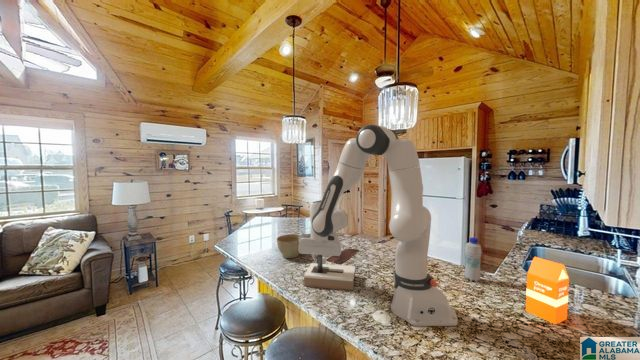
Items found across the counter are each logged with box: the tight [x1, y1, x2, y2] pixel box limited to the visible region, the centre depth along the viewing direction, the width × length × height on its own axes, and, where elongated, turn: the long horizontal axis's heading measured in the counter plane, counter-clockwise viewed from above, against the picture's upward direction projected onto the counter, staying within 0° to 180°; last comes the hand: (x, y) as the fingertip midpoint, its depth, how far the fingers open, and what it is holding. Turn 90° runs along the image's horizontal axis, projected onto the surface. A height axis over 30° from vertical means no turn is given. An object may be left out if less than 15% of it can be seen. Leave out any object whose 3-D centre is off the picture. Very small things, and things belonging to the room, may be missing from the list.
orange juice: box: [525, 256, 570, 325], centre depth 89 cm, size 8×9×20 cm
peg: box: [315, 255, 325, 274], centre depth 118 cm, size 5×5×11 cm
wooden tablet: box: [326, 248, 359, 265], centre depth 150 cm, size 26×2×10 cm
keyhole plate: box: [303, 262, 356, 291], centre depth 118 cm, size 22×14×5 cm, turn 78°
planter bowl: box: [276, 234, 300, 259], centre depth 151 cm, size 16×16×11 cm
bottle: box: [464, 237, 482, 283], centre depth 117 cm, size 7×7×20 cm
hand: (319, 263), depth 118 cm, fingers closed on peg, 2 cm apart
